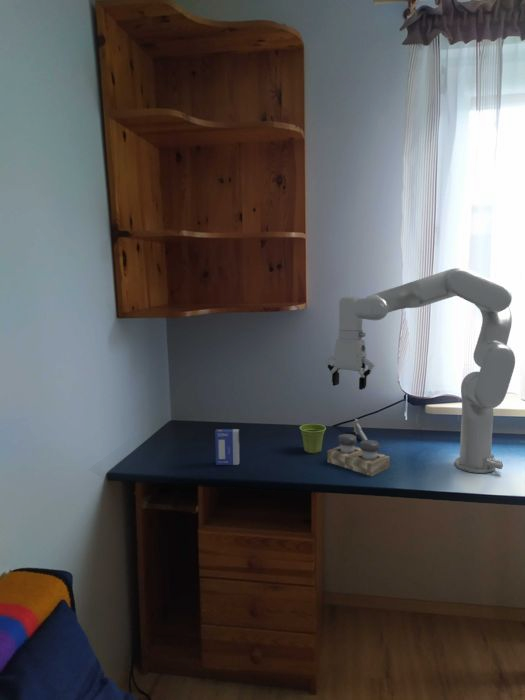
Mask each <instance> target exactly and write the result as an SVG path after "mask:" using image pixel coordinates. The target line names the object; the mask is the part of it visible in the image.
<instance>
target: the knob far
mask: <svg viewBox="0 0 525 700" xmlns="http://www.w3.org/2000/svg"><path fill="white" fill-rule="evenodd" d="M337 442H338V444H339V446H340V452H343V453H346V454H351V453H354V447H356V446H355V445H356V444H357V436H356V434H355V435H354V434H352V433H341V434H339V435H338V441H337Z"/></svg>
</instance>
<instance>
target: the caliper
mask: <svg viewBox="0 0 525 700" xmlns="http://www.w3.org/2000/svg"><path fill="white" fill-rule="evenodd" d="M354 432H355V433H356V434H355V433H354ZM353 433H354V434H355V435H360V437H361V439H362V441H363V440H369V439H368V437H367V435H366V434H365V433H364V431H363V430H362V427H361V426H360V423H359V420H358V418H355V419H354V421H353Z"/></svg>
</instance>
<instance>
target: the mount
mask: <svg viewBox="0 0 525 700" xmlns="http://www.w3.org/2000/svg"><path fill="white" fill-rule="evenodd" d="M326 457H327V463H329V464H332V465H335V466H339V467H341V468H344V469H347V468H348V470H350V469H351V471H354V472H357V473H360V474H363V475H366V476H369V475H370V476H369V477H374V476H375V475H378V474H380V473H382V472H384V471H386V470H388V469H390V461H391V460H390V457H391V456H389V455H385V454H383V453H380V452H379V453H378V452H377V459H375V460H373V461H369V460H366V459H363V458H362V450H361V449H360V447H359V446H355V447H354V453H351V454H346V453H343V452H340V445H339V446H337V447H333V448H331V449H328V450H327V456H326Z"/></svg>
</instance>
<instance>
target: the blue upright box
mask: <svg viewBox="0 0 525 700" xmlns="http://www.w3.org/2000/svg"><path fill="white" fill-rule="evenodd" d="M214 434H215V435H214V436H215V437H214V438H215V466H238V465H239V464H240V429H239V428H238V429H237V428H234V429H233V428H232V429H230V428H228V429H227V428H225V429H220V428H219V429H215V431H214Z"/></svg>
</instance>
